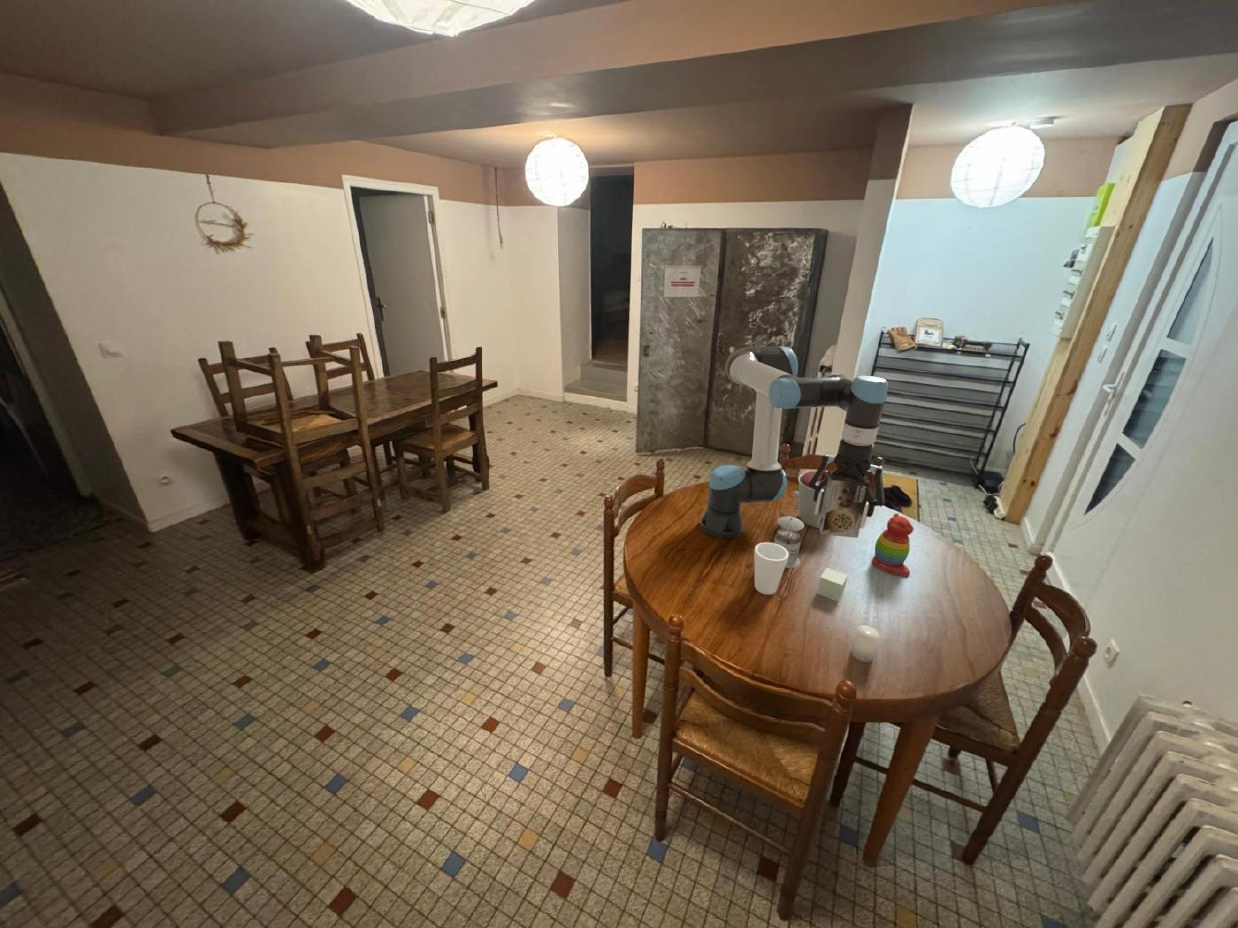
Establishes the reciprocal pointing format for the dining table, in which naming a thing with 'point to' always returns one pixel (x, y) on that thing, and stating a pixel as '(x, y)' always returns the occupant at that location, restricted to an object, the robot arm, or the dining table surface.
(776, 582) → the foam cup
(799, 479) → the canister
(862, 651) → the white cylinder
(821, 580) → the sage block
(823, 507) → the coffee box
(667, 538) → the dining table surface
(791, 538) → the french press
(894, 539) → the stacking bear
